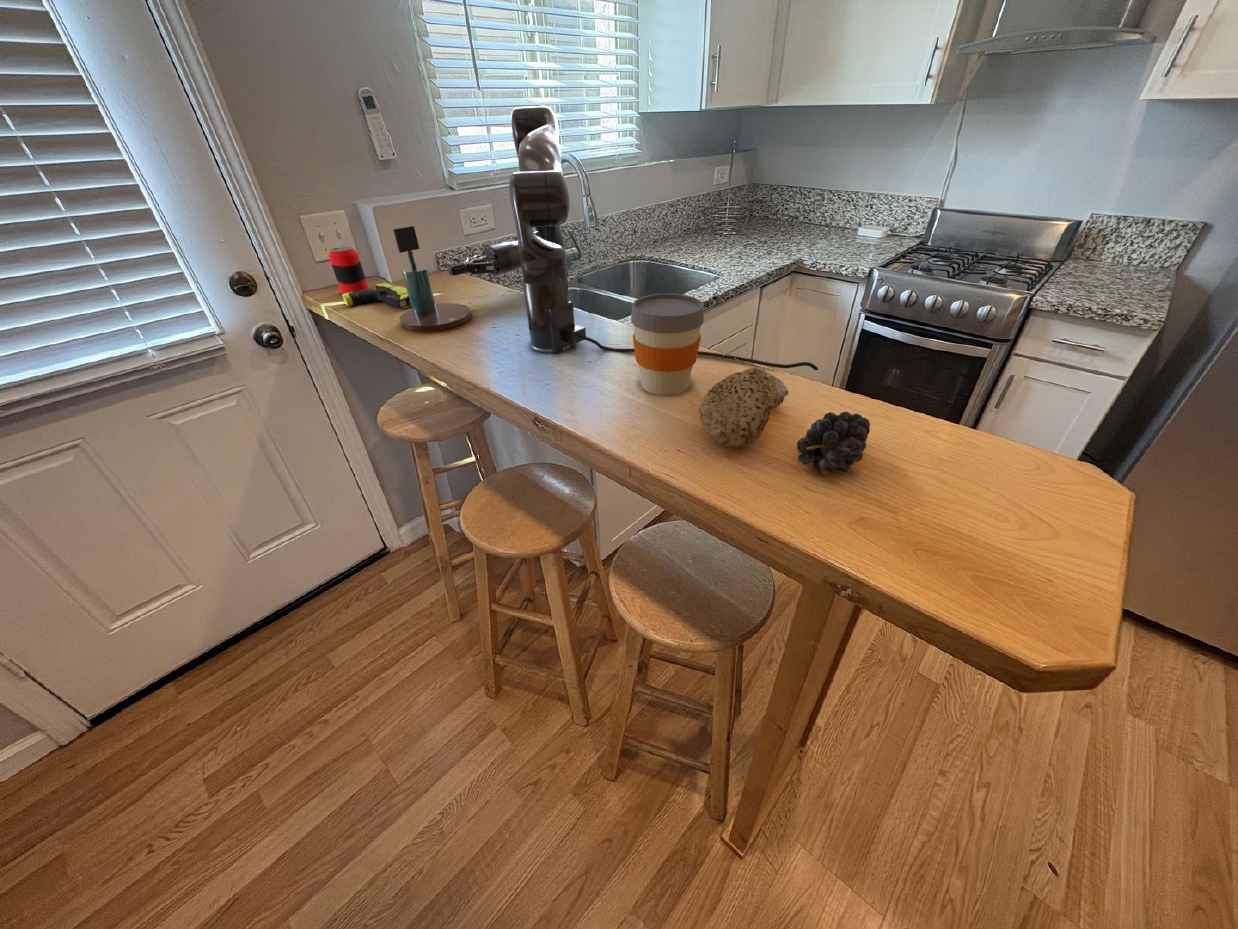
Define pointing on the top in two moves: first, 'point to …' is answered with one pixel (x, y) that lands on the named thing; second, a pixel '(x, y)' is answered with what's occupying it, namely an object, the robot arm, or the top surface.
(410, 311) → the teal post stand
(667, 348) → the reusable coffee cup
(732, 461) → the top surface
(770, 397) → the sponge
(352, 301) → the stun gun
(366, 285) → the soda can
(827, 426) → the fruit
